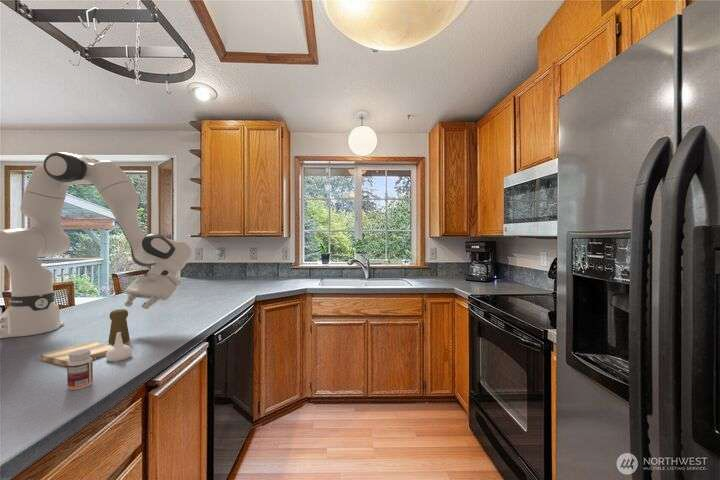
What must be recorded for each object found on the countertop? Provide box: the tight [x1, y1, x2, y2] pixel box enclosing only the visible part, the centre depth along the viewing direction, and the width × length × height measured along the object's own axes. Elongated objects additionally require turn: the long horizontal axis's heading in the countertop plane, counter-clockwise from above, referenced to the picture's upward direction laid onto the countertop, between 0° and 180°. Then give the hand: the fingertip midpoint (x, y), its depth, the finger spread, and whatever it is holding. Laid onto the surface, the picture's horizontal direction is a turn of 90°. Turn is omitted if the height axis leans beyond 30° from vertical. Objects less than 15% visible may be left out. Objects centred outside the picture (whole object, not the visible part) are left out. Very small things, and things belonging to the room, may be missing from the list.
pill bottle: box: [66, 349, 94, 391], centre depth 80 cm, size 5×5×8 cm
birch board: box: [40, 340, 114, 367], centre depth 100 cm, size 14×13×2 cm
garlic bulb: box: [105, 332, 133, 363], centre depth 98 cm, size 6×6×8 cm
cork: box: [107, 308, 131, 345], centre depth 113 cm, size 6×6×11 cm
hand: (135, 307), depth 118 cm, fingers open, 8 cm apart
